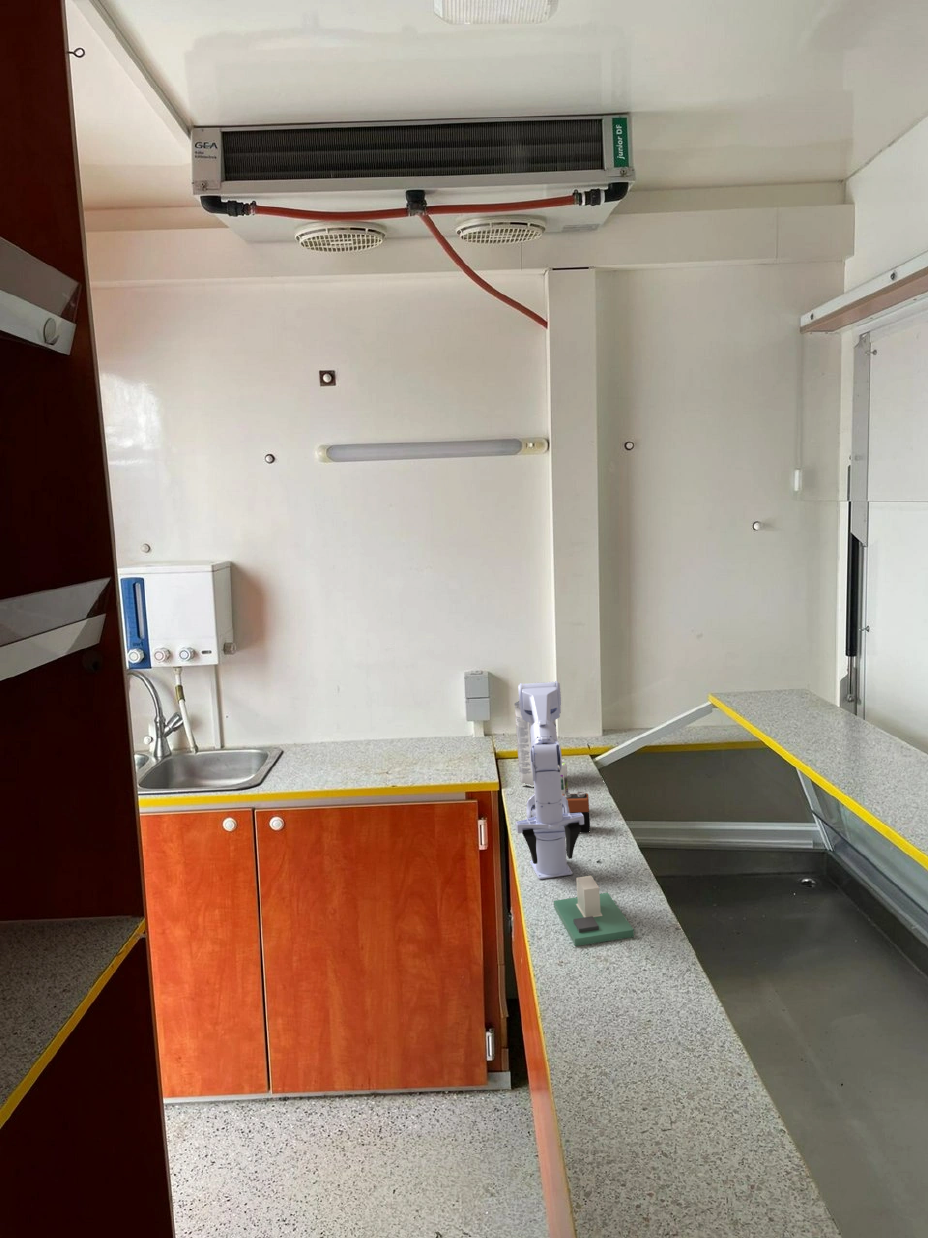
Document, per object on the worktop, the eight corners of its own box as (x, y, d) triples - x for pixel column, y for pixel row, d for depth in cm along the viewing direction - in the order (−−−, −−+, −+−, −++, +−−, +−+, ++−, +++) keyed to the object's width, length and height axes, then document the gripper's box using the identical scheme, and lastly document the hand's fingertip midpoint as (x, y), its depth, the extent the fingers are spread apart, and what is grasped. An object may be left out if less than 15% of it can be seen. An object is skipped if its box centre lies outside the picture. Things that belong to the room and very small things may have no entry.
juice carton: (548, 792, 253) (542, 701, 248) (516, 787, 258) (510, 698, 254) (562, 781, 260) (557, 693, 255) (531, 777, 266) (525, 690, 261)
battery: (590, 833, 223) (588, 795, 221) (563, 834, 223) (561, 796, 222) (590, 826, 227) (588, 789, 225) (563, 827, 228) (561, 790, 226)
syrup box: (549, 819, 233) (546, 767, 231) (544, 811, 239) (540, 760, 237) (570, 816, 234) (567, 764, 232) (564, 808, 240) (561, 757, 237)
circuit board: (553, 907, 187) (553, 895, 186) (608, 899, 188) (607, 887, 188) (575, 946, 171) (574, 933, 171) (634, 936, 173) (633, 924, 172)
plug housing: (575, 901, 185) (574, 874, 184) (590, 899, 186) (588, 872, 185) (585, 917, 179) (583, 889, 178) (600, 915, 179) (599, 887, 178)
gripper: (519, 810, 181) (523, 872, 183) (586, 801, 183) (590, 862, 185) (511, 798, 188) (516, 858, 190) (577, 789, 190) (580, 848, 192)
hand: (552, 859), depth 188 cm, fingers open, 7 cm apart
